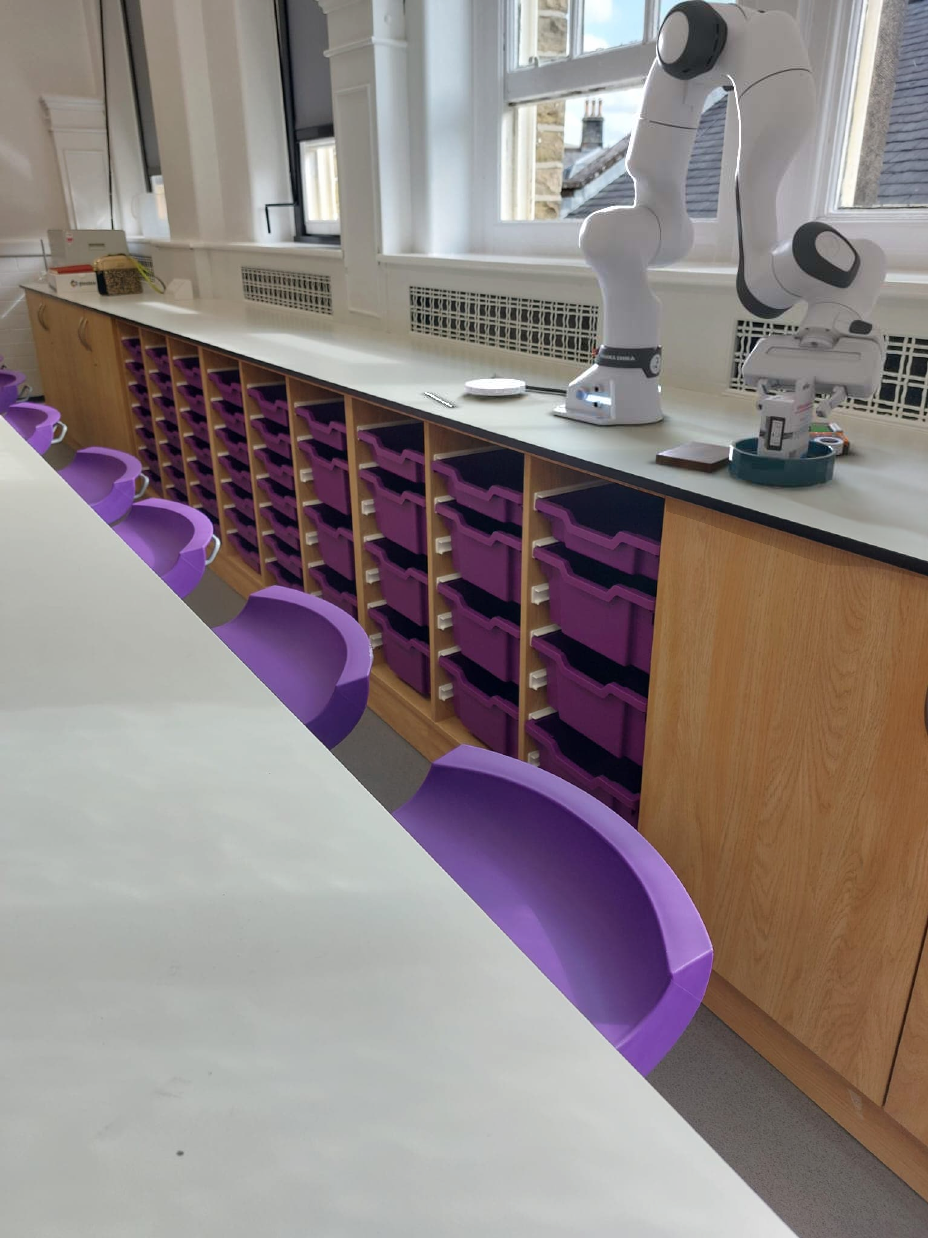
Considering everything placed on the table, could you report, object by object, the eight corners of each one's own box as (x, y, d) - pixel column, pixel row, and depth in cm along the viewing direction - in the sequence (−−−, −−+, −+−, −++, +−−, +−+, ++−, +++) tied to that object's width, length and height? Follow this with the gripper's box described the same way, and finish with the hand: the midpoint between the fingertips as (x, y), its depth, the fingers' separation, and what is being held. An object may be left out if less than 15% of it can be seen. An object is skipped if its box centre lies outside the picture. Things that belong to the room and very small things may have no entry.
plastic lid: (475, 401, 197) (475, 390, 196) (458, 391, 209) (458, 380, 208) (533, 397, 201) (534, 386, 199) (513, 387, 213) (513, 377, 212)
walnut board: (655, 463, 144) (656, 454, 144) (692, 449, 152) (693, 441, 152) (710, 473, 138) (711, 463, 137) (745, 458, 146) (747, 449, 145)
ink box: (774, 464, 140) (787, 370, 134) (805, 469, 137) (819, 373, 131) (752, 476, 134) (764, 377, 128) (784, 481, 131) (798, 380, 125)
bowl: (710, 477, 135) (713, 449, 133) (755, 459, 145) (758, 432, 144) (806, 495, 126) (810, 464, 124) (847, 474, 136) (852, 445, 134)
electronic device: (812, 442, 145) (796, 419, 159) (809, 459, 147) (793, 435, 160) (855, 443, 144) (835, 420, 158) (852, 460, 146) (832, 436, 159)
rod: (451, 409, 191) (451, 406, 191) (425, 395, 208) (425, 392, 207) (454, 409, 191) (454, 405, 191) (428, 395, 208) (428, 392, 208)
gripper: (757, 319, 138) (721, 391, 136) (891, 326, 126) (854, 405, 123) (766, 346, 143) (731, 415, 141) (897, 355, 130) (861, 432, 128)
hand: (790, 411), depth 132 cm, fingers open, 8 cm apart
